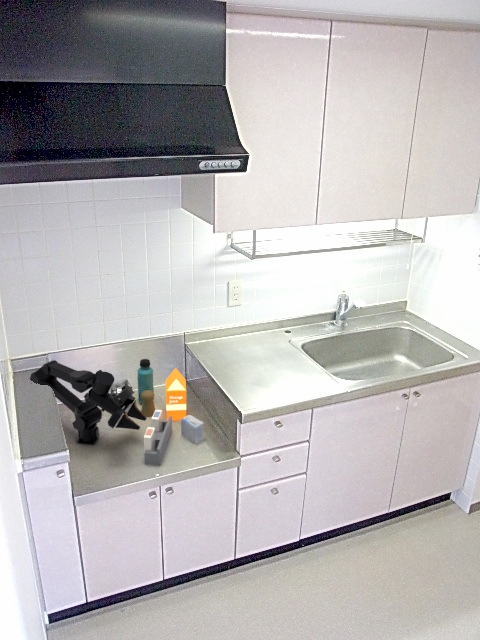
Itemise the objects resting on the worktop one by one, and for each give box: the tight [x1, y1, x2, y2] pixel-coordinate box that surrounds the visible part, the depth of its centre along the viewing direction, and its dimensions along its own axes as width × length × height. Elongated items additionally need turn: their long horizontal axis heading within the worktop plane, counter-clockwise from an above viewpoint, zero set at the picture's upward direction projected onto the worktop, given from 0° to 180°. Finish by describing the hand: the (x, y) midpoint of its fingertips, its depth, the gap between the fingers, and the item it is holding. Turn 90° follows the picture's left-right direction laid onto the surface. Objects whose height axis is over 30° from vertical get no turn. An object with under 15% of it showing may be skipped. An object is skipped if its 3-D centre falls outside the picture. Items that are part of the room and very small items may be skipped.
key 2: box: [150, 409, 163, 433], centre depth 201 cm, size 2×6×10 cm, turn 174°
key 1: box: [143, 426, 157, 460], centre depth 191 cm, size 2×6×10 cm, turn 174°
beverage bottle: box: [137, 358, 155, 404], centre depth 222 cm, size 6×7×20 cm
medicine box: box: [180, 414, 205, 445], centre depth 203 cm, size 8×4×9 cm, turn 48°
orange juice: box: [165, 367, 187, 422], centre depth 214 cm, size 8×9×20 cm
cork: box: [140, 390, 156, 418], centre depth 216 cm, size 6×6×11 cm
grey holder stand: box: [143, 416, 173, 466], centre depth 197 cm, size 7×20×8 cm, turn 175°
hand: (142, 423), depth 191 cm, fingers open, 9 cm apart
